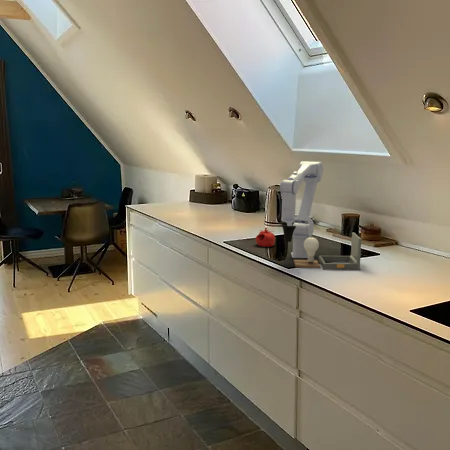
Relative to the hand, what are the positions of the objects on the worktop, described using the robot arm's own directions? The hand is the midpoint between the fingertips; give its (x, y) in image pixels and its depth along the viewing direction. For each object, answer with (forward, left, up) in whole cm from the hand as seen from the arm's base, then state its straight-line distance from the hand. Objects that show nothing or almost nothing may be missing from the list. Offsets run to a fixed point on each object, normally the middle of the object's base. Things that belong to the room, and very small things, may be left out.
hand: (287, 239), depth 232 cm
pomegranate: (-35, -8, -11) cm, 38 cm away
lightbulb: (+2, +10, -10) cm, 14 cm away
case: (+2, +21, -10) cm, 24 cm away
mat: (+2, +8, -10) cm, 13 cm away
